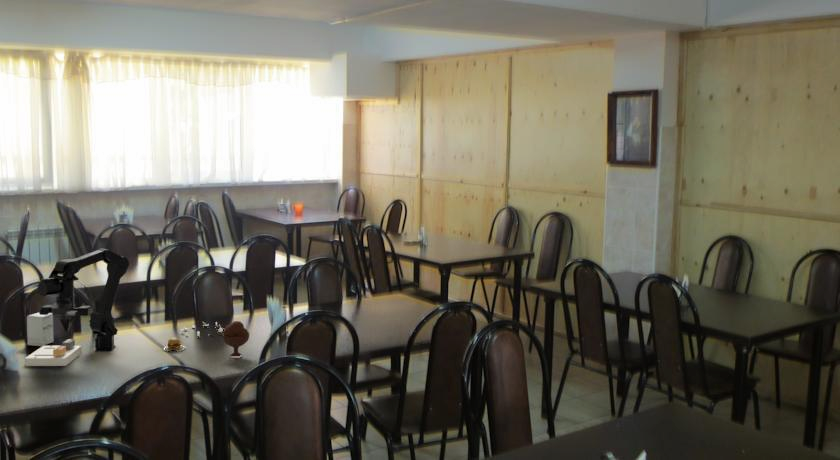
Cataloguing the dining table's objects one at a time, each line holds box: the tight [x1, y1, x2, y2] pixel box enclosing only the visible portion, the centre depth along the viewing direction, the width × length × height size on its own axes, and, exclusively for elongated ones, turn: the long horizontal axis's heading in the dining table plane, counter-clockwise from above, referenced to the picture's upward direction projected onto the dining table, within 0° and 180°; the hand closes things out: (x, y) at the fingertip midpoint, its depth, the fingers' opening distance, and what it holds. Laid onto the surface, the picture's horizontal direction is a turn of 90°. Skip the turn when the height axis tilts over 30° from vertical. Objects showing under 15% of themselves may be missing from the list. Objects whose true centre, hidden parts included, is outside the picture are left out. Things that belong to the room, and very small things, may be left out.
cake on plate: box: [163, 337, 187, 352], centre depth 328 cm, size 12×12×6 cm
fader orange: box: [53, 345, 66, 356], centre depth 305 cm, size 3×5×3 cm, turn 4°
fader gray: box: [61, 338, 76, 349], centre depth 315 cm, size 3×5×3 cm, turn 4°
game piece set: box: [180, 321, 224, 337], centre depth 357 cm, size 19×20×4 cm
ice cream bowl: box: [221, 320, 250, 356], centre depth 319 cm, size 11×11×15 cm
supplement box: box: [26, 312, 54, 347], centre depth 331 cm, size 7×7×13 cm
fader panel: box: [24, 345, 83, 367], centre depth 310 cm, size 15×18×3 cm
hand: (66, 331), depth 310 cm, fingers closed
